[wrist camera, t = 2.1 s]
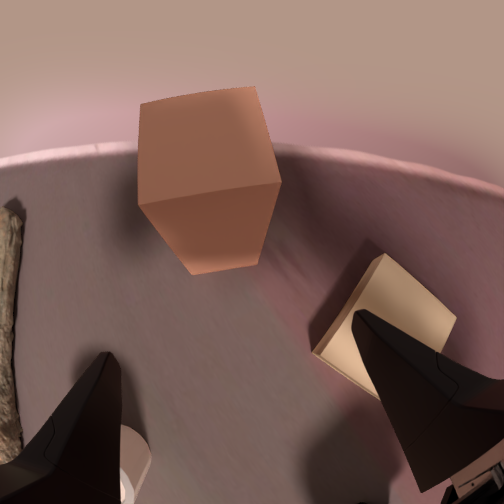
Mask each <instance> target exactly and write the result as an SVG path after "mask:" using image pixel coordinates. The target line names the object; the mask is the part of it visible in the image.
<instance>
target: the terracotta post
mask: <svg viewBox="0 0 504 504" xmlns="http://www.w3.org/2000/svg"><path fill="white" fill-rule="evenodd" d="M281 183H282V181H281V177H280V173H279V170H278V166H277V162H276V158H275V155H274V151H273V147H272V144H271V140H270V136H269V133H268V130H267V126H266V123H265V119H264V115H263V112H262V109H261V105H260V102H259V99H258V95H257V92H256V89H255V86H254V87H243V88H231V89H223V90H215V91H207V92H200V93H195V94H189V95H183V96H177V97H171V98H167V99H162V100H157V101H152V102H148V103H144V104H141V105H140V121H139V139H138V206H139V207H140V208H141V210H142V211H143V213H144V214H145V215H146V217H147V218H148V219H149V221H150V222H151V223H152V225H153V226H154V227H155V229H156V230H157V231H158V232H159V234H160V235H161V236H162V238H163V239H164V240H165V242H166V243H167V244H168V245H169V247H170V248H171V249H172V251H173V252H174V253H175V254H176V256H177V257H178V258H179V259H180V261H181V262H182V263H183V264H184V266H185V267H186V268H187V269H188V271H189V272H190V273H191V274H192V275H196V274H203V273H209V272H215V271H221V270H227V269H233V268H239V267H245V266H251V265H257V264H258V260H259V257H260V254H261V250H262V247H263V244H264V240H265V237H266V233H267V230H268V227H269V223H270V220H271V217H272V213H273V210H274V207H275V203H276V200H277V196H278V193H279V190H280V186H281Z"/></svg>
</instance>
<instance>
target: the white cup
mask: <svg viewBox="0 0 504 504" xmlns="http://www.w3.org/2000/svg"><path fill="white" fill-rule="evenodd" d="M150 463H151V452H150V449H149V447H148V444H147V443H146V442H145V440H144V439H143V438H142V436H141V435H140V434H138V433H137V432H136V431H134V430H133V429H132V428H130V427H127V426H125V425H122V424H121V437H120V486H121V504H134V502H135V499H136V497H137V495H138V492H139V490H140V488H141V485H142V483H143V480H144V478H145V476H146V473H147V471H148V469H149V466H150Z"/></svg>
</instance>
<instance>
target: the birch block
mask: <svg viewBox="0 0 504 504" xmlns="http://www.w3.org/2000/svg"><path fill="white" fill-rule="evenodd" d="M360 309H366V310H368V311H370V312H371V313H373V314H375V315H377V316H378V317H380V318H382V319H383V320H385V321H387V322H388V323H390V324H392V325H393V326H395V327H397V328H399V329H400V330H402V331H404V332H405V333H407V334H409V335H410V336H412V337H414V338H415V339H417V340H419V341H420V342H422V343H424V344H425V345H427V346H429V347H430V348H432V349H434V350H435V351H437V352H439V353H441V351H442V349H443V347H444V345H445V342H446V340H447V338H448V336H449V334H450V332H451V330H452V327H453V325H454V323H455V320H456V318H457V317H456V316H455V315H453V314H452V313H451V312H450V311H449V310H448V309H447V308H446V307H445V306H444V305H443V304H442V303H441V302H440V301H439V300H438V299H437V298H436V297H435V296H434V295H432V294H431V293H430V292H429V291H428V290H427V289H426V288H425V287H424V286H423V285H421V284H420V283H419V282H418V281H417V280H416V279H415V278H414V277H413V276H411V275H410V274H409V273H408V272H407V271H406V270H405V269H403V268H402V267H401V266H400V265H399V264H398V263H396V262H395V261H394V260H393V259H392V258H391V257H389V256H388V255H387V254H386V253H384V254H383V255H381V256H379V257H377V258H376V259H374V260H372V262H371V264H370V265H369V267H368V269H367V270H366V272H365V274H364V275H363V277H362V278H361V280H360V282H359V283H358V285H357V287H356V288H355V290H354V291H353V293H352V294H351V296H350V298H349V299H348V301H347V302H346V304H345V305H344V307H343V308H342V310H341V311H340V313H339V314H338V316H337V317H336V319H335V320H334V322H333V323H332V325H331V326H330V328H329V329H328V330H327V332H326V333H325V335H324V336H323V338H322V339H321V340H320V342H319V343H318V345H317V346H316V347H315V349H314V350H313V351H312V354H314V355H315V356H317V357H318V358H319V359H321V360H322V361H324V362H325V363H326V364H328V365H329V366H331V367H332V368H333V369H335V370H336V371H338V372H339V373H341V374H342V375H343V376H345V377H346V378H348V379H349V380H351V381H352V382H354V383H355V384H356V385H358V386H359V387H361V388H362V389H364V390H365V391H367V392H368V393H370V394H371V395H373V396H374V397H376V398H377V399H379V400H380V398H379V396H378V394H377V392H376V390H375V387H374V385H373V383H372V381H371V379H370V377H369V375H368V373H367V371H366V369H365V367H364V364H363V362H362V359H361V356H360V353H359V351H358V348H357V345H356V342H355V340H354V337H353V334H352V331H351V324H352V319H353V314H354V312H355V311H356V310H360ZM380 401H381V400H380Z"/></svg>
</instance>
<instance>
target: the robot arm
mask: <svg viewBox="0 0 504 504" xmlns="http://www.w3.org/2000/svg"><path fill="white" fill-rule="evenodd" d="M351 331H352V334H353V337H354V340H355V342H356V345H357V348H358V351H359V353H360V356H361V359H362V362H363V364H364V367H365V369H366V371H367V373H368V375H369V377H370V379H371V381H372V383H373V385H374V387H375V390H376V392H377V394H378V396H379V398H380V400H381V402H382V404H383V406H384V409H385V411H386V413H387V415H388V417H389V419H390V422H391V424H392V426H393V428H394V430H395V433H396V435H397V437H398V439H399V442H400V444H401V446H402V449H403V451H404V454H405V456H406V458H407V461H408V463H409V465H410V468H411V470H412V473H413V475H414V477H415V480H416V482H417V485H418V487H419V490H420V492H421V493H423V492H425V491H427V490H429V489H430V488H432V487H434V486H436V485H438V484H439V483H441V482H443V481H445V480H446V479H448V478H450V479H451V481H452V483H453V484H452V485H450V486H449V487H447V488H446V491H445V494H444V496H443V499H442V501H441V504H504V379H503V380H497V379H492V378H488V377H486V376H484V375H482V374H480V373H477V372H475V371H473V370H471V369H469V368H467V367H465V366H463V365H461V364H459V363H457V362H455V361H453V360H451V359H449V358H447V357H446V356H444V355H442V354H441V353H439V352H437V351H435V350H434V349H432V348H430V347H429V346H427V345H425V344H424V343H422V342H420V341H419V340H417V339H415V338H414V337H412V336H410V335H409V334H407V333H405V332H404V331H402V330H400V329H399V328H397V327H395V326H393V325H392V324H390V323H388V322H387V321H385V320H383V319H382V318H380V317H378V316H377V315H375V314H373V313H371V312H370V311H368V310H366V309H360V310H356V311H355V312H354V314H353V319H352V324H351ZM121 415H122V392H121V368H120V365H119V363H118V362H117V360H116V359H115V357H114V355H113V354H112V353H111V352H101V353H100V354H99V355H98V356H97V357H96V359H95V360H94V361H93V362H92V363H91V365H90V366H89V367H88V368H87V370H86V371H85V372H84V373H83V375H82V376H81V377H80V378H79V380H78V381H77V382H76V383H75V385H74V386H73V387H72V389H71V390H70V391H69V392H68V394H67V395H66V396H65V398H64V399H63V400H62V401H61V403H60V404H59V405H58V407H57V408H56V409H55V411H54V412H53V413H52V416H50V417H49V419H48V420H47V421H46V423H45V424H44V425H43V426H42V428H41V429H40V430H39V432H38V433H37V434H36V435H35V436H34V437H33V439H32V440H31V441H30V442H29V443H28V444H27V445H26V446H25V448H24V449H23V450H22V451H21V452H20V453H19V454H18V456H17V457H16V458H14V459H13V460H12V461H10V462H8V463H5V464H0V504H121V486H120V437H121ZM359 504H366V503H363V502H362V503H359Z"/></svg>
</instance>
